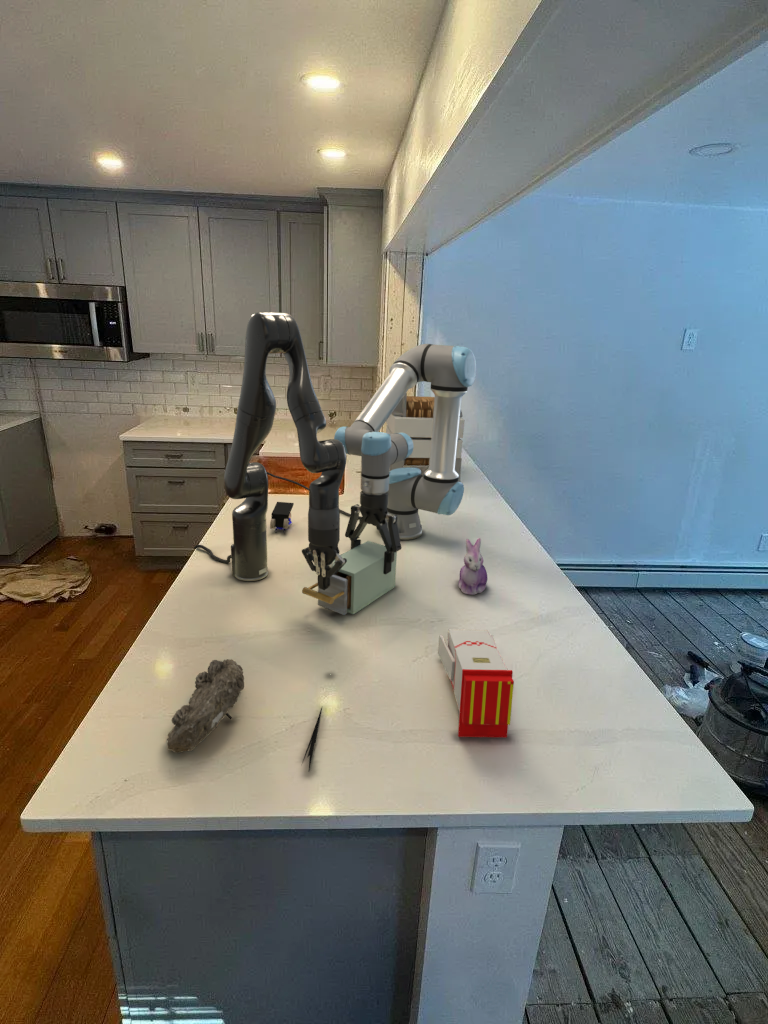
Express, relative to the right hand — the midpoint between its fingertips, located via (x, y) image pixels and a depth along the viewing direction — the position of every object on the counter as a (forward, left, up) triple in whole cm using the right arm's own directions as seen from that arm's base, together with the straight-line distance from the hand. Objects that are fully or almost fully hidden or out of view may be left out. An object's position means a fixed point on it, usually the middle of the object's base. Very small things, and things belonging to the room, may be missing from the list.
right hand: (371, 567), depth 158 cm
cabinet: (+1, -5, -7) cm, 8 cm away
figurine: (+17, +24, -7) cm, 30 cm away
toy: (+48, -13, -7) cm, 50 cm away
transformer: (-79, +95, -7) cm, 124 cm away
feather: (+36, -42, -7) cm, 56 cm away
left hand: (+6, -20, +2) cm, 21 cm away
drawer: (+3, -11, -6) cm, 13 cm away
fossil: (+23, -58, -7) cm, 63 cm away
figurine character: (-54, +4, -7) cm, 54 cm away
